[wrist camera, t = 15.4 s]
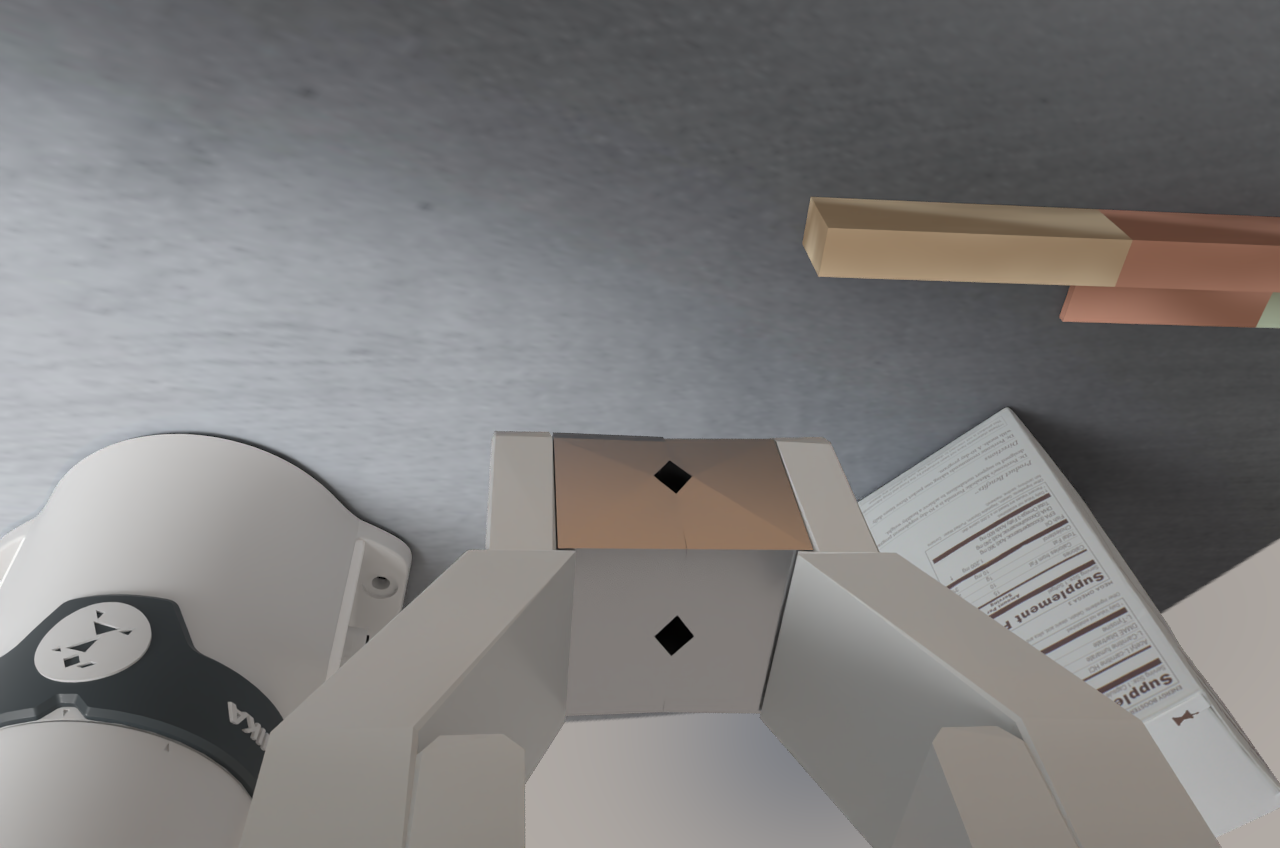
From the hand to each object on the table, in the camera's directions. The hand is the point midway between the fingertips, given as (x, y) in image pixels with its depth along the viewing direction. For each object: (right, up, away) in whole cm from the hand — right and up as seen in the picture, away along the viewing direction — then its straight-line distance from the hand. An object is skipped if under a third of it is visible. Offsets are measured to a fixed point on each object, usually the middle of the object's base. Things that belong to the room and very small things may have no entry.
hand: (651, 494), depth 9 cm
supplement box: (+16, -4, +41) cm, 44 cm away
